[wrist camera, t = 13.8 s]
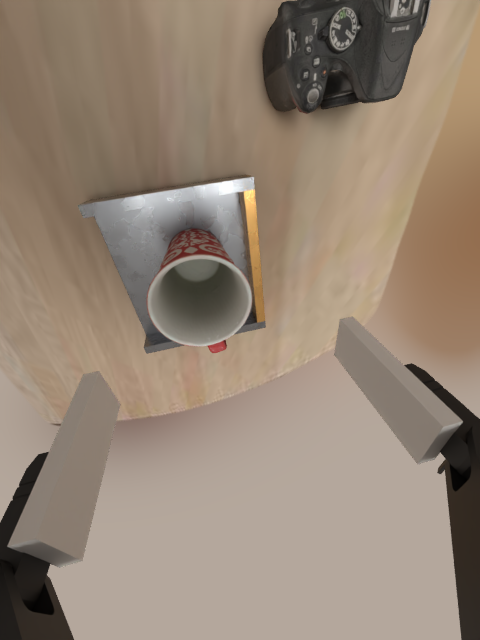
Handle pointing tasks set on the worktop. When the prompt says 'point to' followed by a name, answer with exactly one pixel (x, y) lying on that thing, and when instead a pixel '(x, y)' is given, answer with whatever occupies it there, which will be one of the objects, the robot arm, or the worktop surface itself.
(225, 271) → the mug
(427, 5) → the camera
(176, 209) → the tray
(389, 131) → the worktop surface
